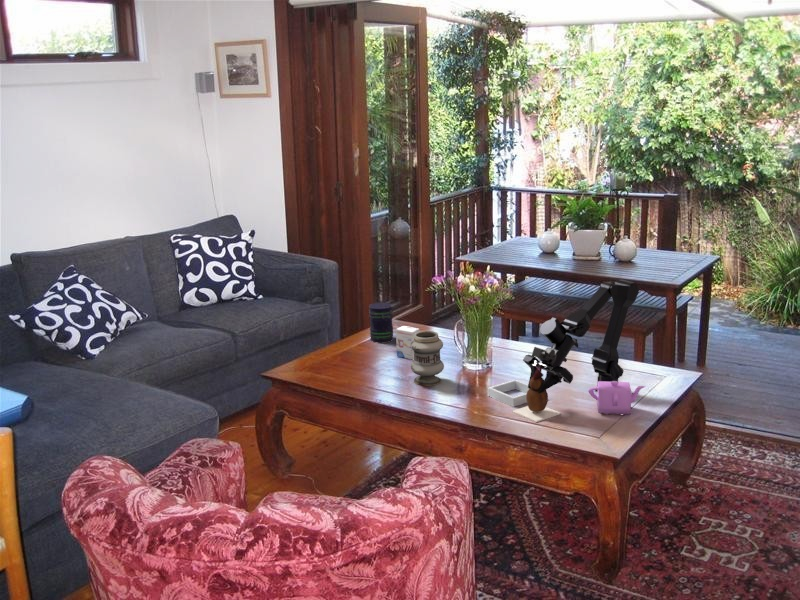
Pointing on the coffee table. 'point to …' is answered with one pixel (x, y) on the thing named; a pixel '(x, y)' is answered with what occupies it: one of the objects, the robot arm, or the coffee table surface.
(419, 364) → the apothecary jar
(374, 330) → the storage jar
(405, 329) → the ink box
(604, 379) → the robot arm
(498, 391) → the white square tray
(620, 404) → the teapot
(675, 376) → the coffee table surface
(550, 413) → the tile
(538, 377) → the wooden figurine
